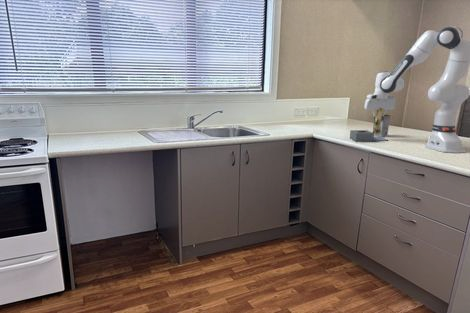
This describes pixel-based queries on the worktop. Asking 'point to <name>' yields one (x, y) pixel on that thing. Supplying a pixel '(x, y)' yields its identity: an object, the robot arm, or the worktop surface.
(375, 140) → the mat
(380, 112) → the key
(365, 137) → the chuck block
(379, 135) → the coffee box
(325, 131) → the worktop surface
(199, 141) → the worktop surface
